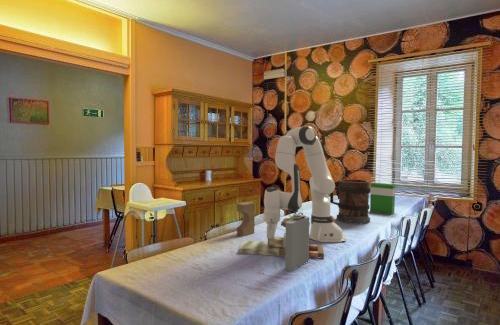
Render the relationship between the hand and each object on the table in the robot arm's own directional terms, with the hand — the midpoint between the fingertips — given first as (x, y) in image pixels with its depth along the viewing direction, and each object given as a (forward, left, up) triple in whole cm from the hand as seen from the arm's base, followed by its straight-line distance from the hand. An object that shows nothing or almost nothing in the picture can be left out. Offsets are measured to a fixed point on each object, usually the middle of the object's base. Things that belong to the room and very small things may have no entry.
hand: (271, 242), depth 179 cm
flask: (-14, +19, -5) cm, 24 cm away
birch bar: (-6, 0, -2) cm, 6 cm away
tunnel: (-11, 0, -2) cm, 11 cm away
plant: (-11, -61, -5) cm, 62 cm away
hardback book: (-83, -113, -5) cm, 140 cm away
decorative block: (+19, -29, -5) cm, 35 cm away
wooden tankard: (-52, -81, -5) cm, 96 cm away
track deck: (-6, 0, -5) cm, 7 cm away
